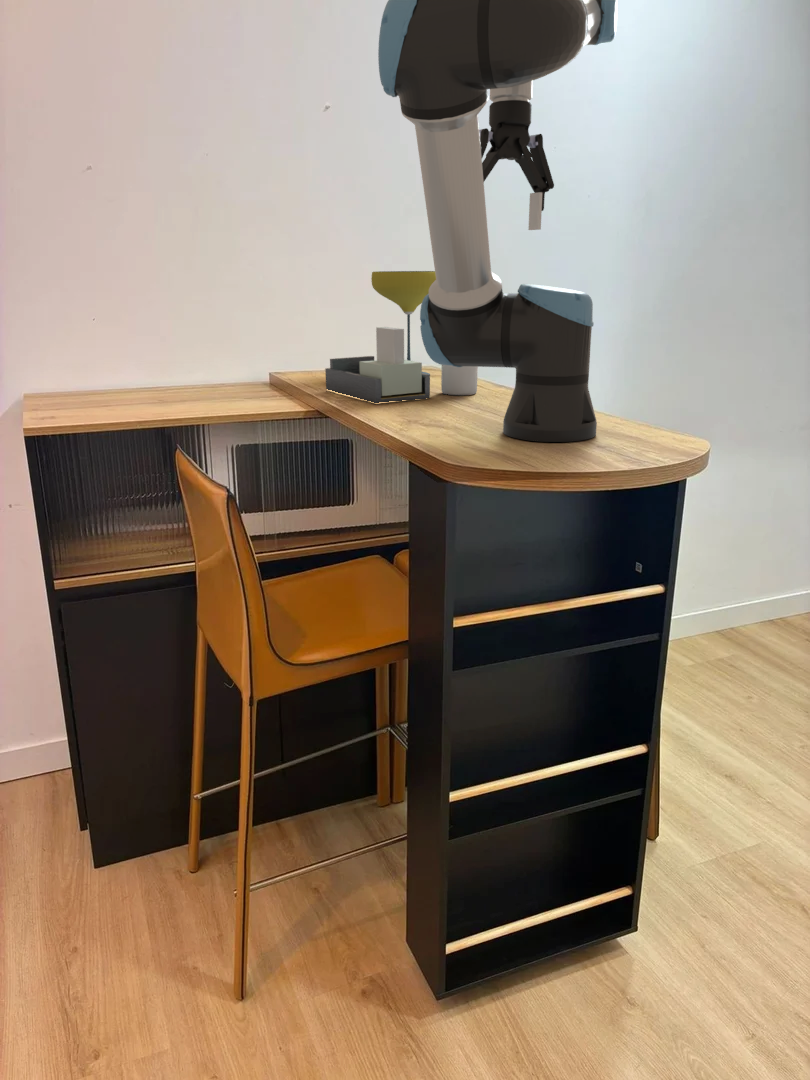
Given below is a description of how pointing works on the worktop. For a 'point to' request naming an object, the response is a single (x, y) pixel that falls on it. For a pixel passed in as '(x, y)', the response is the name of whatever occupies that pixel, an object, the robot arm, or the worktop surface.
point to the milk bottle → (459, 380)
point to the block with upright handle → (393, 364)
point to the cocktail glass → (404, 291)
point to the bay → (365, 382)
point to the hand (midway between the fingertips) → (506, 229)
